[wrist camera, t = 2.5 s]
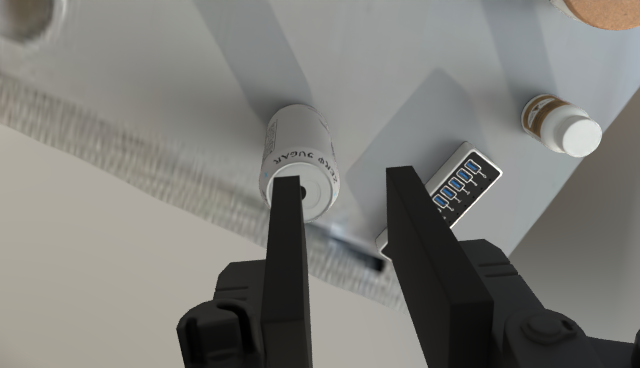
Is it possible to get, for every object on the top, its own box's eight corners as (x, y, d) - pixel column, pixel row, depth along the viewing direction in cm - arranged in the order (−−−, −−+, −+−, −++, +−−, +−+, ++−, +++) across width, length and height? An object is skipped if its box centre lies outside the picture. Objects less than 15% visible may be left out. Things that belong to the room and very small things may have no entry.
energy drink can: (324, 162, 51) (336, 233, 37) (265, 158, 51) (255, 228, 37) (331, 104, 49) (346, 157, 35) (269, 99, 48) (259, 150, 35)
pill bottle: (539, 84, 49) (580, 104, 42) (572, 107, 50) (618, 129, 43) (510, 122, 51) (546, 147, 43) (543, 143, 52) (583, 171, 45)
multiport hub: (496, 164, 52) (504, 172, 50) (403, 262, 56) (408, 273, 54) (465, 140, 51) (472, 147, 49) (373, 241, 55) (376, 252, 53)
